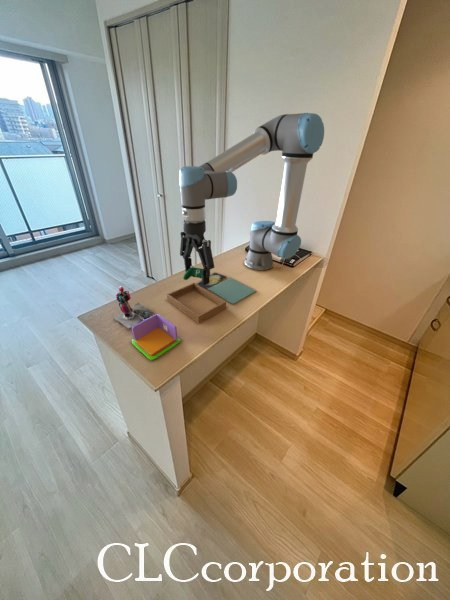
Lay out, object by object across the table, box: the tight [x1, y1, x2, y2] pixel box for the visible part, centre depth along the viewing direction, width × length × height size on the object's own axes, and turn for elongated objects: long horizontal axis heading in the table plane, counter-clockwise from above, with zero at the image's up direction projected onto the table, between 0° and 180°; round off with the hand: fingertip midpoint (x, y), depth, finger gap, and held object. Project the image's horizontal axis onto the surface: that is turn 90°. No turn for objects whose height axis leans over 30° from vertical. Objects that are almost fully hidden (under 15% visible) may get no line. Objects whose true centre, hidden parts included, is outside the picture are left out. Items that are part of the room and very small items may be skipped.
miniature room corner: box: [131, 313, 181, 361], centre depth 77 cm, size 12×12×7 cm
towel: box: [207, 277, 257, 305], centre depth 107 cm, size 15×16×1 cm
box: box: [166, 282, 227, 324], centre depth 97 cm, size 14×20×3 cm
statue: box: [113, 285, 155, 331], centre depth 85 cm, size 11×9×15 cm
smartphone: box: [196, 272, 227, 291], centre depth 114 cm, size 7×1×15 cm
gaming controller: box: [182, 265, 203, 283], centre depth 91 cm, size 9×4×6 cm
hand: (197, 278), depth 91 cm, fingers closed on gaming controller, 10 cm apart
